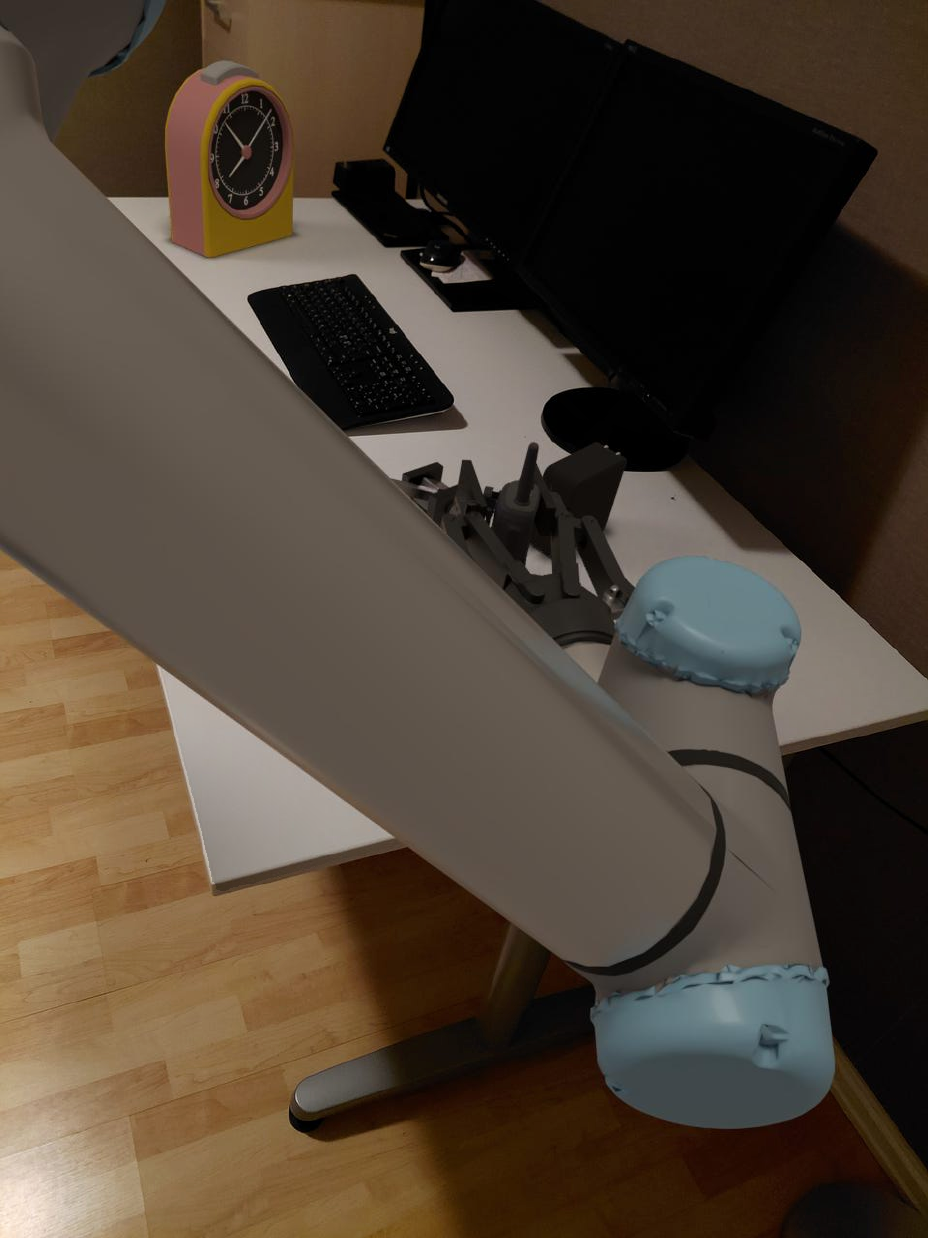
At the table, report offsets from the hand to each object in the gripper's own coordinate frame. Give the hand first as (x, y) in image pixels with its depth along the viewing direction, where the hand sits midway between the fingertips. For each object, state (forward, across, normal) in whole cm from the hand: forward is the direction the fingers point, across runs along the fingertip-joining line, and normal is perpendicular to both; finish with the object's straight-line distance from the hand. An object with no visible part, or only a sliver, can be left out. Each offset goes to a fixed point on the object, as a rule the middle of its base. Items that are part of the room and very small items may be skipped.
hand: (496, 475), depth 70 cm
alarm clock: (+102, -22, -18) cm, 106 cm away
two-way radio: (-5, 0, -8) cm, 10 cm away
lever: (+6, -7, -7) cm, 12 cm away
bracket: (+9, -3, -18) cm, 20 cm away
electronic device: (+16, +15, -18) cm, 29 cm away
